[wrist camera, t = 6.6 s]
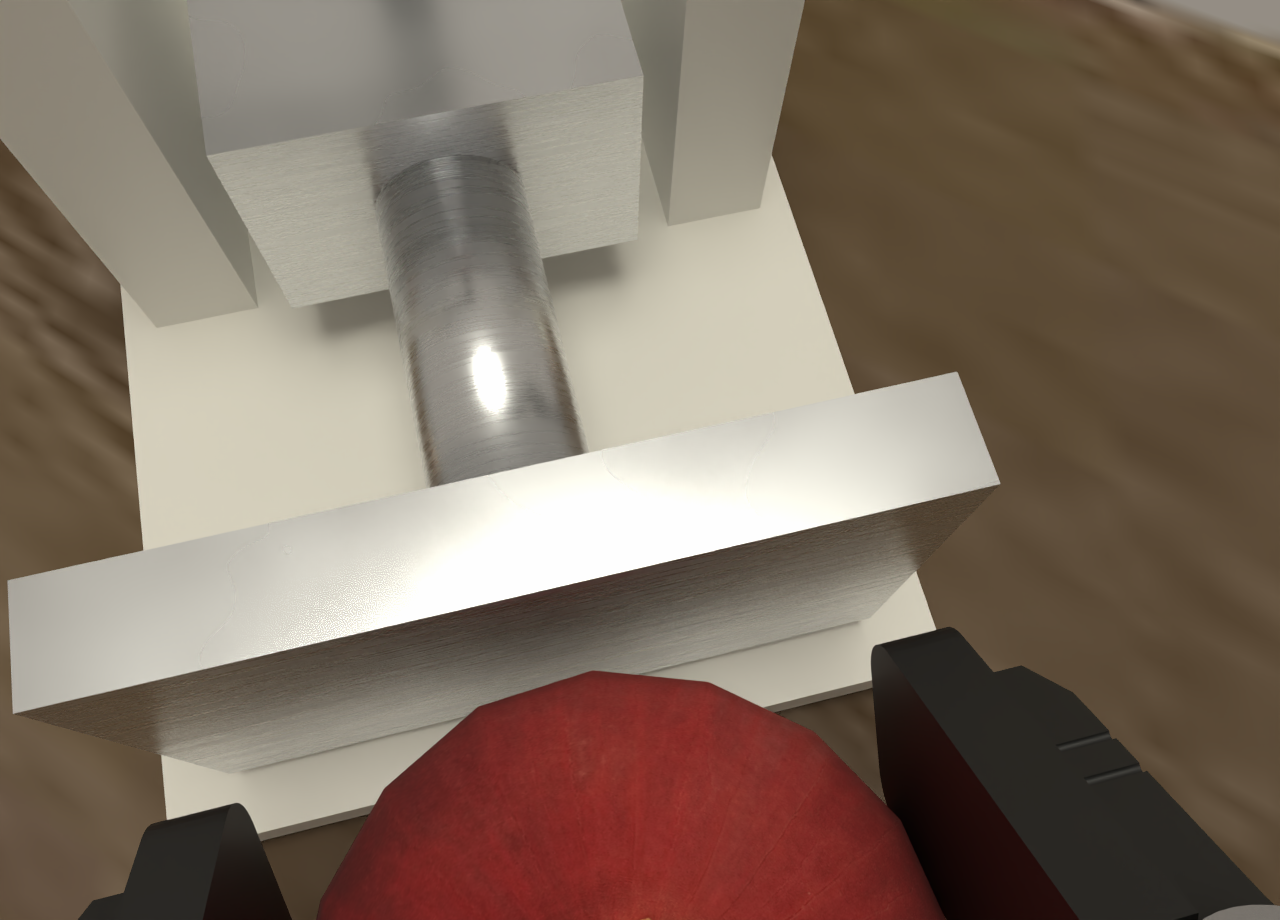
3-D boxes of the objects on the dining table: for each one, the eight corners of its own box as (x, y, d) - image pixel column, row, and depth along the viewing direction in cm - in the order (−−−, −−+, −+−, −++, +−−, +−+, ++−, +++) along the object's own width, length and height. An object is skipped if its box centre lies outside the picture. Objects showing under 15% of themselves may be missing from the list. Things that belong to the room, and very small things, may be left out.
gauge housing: (927, 673, 17) (1202, 493, 9) (196, 857, 15) (-225, 833, 8) (611, -261, 24) (610, -810, 16) (98, -185, 23) (-171, -737, 15)
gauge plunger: (870, 618, 15) (1180, 297, 7) (145, 794, 14) (-529, 670, 6) (673, 14, 19) (719, -666, 11) (90, 117, 18) (-365, -546, 10)
